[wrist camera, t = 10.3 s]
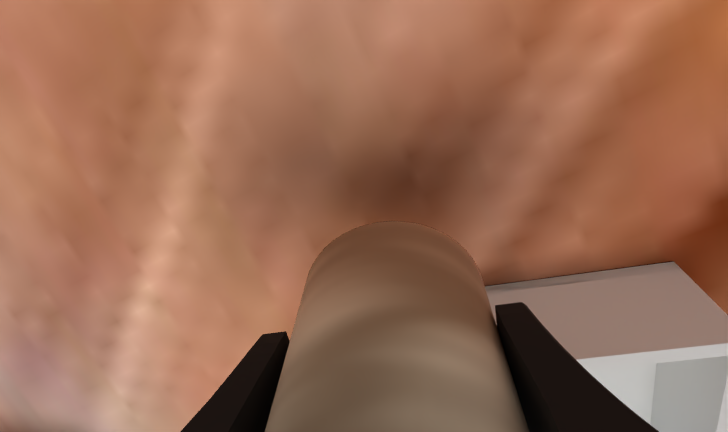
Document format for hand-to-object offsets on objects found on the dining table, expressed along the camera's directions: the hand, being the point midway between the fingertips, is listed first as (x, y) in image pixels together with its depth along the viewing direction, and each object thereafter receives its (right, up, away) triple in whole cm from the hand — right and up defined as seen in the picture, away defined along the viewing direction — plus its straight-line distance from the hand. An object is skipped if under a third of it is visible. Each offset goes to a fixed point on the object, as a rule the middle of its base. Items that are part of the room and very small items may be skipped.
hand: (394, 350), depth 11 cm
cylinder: (0, +1, +2) cm, 2 cm away
